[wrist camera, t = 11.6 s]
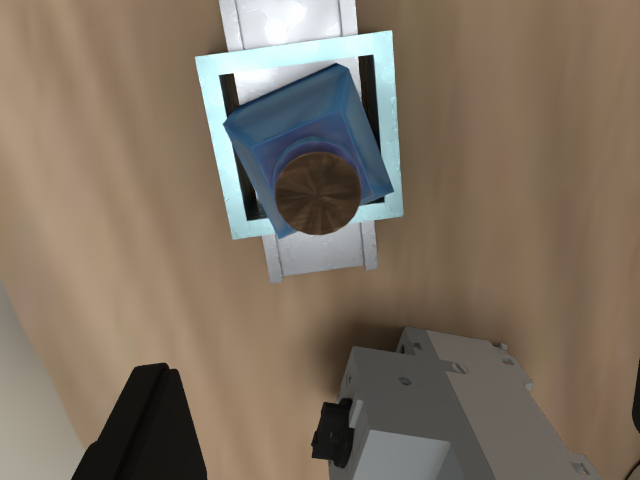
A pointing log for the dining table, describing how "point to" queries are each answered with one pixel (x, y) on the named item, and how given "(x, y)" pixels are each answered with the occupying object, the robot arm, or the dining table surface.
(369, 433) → the circuit breaker
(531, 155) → the dining table surface
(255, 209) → the pale teal rectangular frame
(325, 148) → the perfume bottle
